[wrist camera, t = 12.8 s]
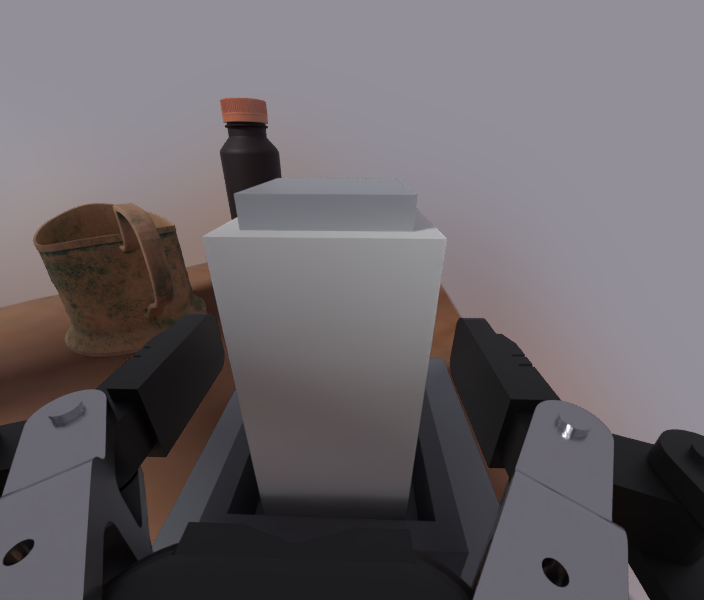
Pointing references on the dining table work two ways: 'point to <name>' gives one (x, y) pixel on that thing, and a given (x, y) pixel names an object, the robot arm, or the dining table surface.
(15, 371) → the dining table surface
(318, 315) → the grey tall block
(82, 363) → the dining table surface
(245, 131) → the bottle
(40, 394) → the dining table surface
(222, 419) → the dock
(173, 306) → the mug
